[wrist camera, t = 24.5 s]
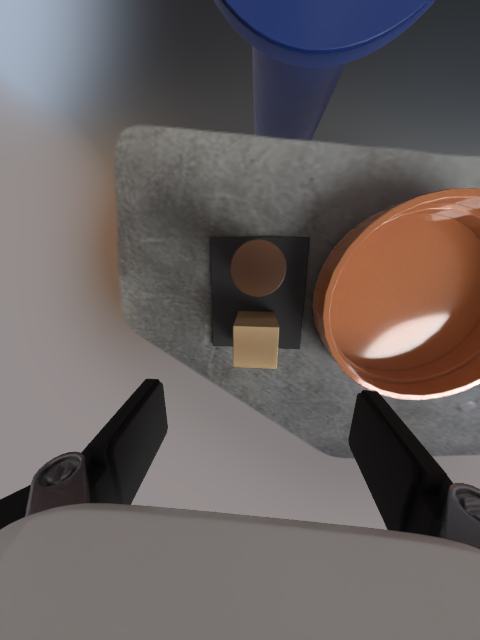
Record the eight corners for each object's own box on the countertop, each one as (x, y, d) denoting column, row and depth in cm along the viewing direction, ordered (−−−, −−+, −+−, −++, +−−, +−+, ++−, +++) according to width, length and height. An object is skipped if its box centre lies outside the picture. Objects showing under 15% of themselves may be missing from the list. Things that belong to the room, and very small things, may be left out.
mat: (210, 237, 23) (209, 237, 23) (308, 237, 22) (309, 237, 22) (213, 344, 26) (213, 345, 26) (299, 347, 26) (299, 349, 25)
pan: (321, 203, 21) (337, 190, 17) (527, 201, 20) (601, 186, 16) (304, 372, 26) (313, 394, 22) (467, 379, 25) (511, 405, 21)
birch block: (238, 310, 24) (232, 325, 19) (274, 311, 24) (279, 327, 19) (238, 344, 26) (233, 367, 20) (273, 345, 25) (276, 369, 20)
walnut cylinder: (238, 244, 23) (229, 239, 15) (278, 244, 22) (288, 239, 15) (238, 283, 24) (230, 296, 16) (276, 284, 23) (284, 297, 16)
